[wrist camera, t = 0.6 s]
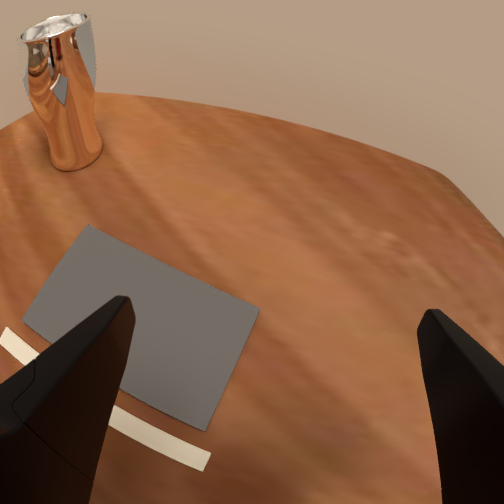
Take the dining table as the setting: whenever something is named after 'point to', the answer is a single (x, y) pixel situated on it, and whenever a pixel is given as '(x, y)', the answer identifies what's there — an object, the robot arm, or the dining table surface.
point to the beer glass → (63, 86)
